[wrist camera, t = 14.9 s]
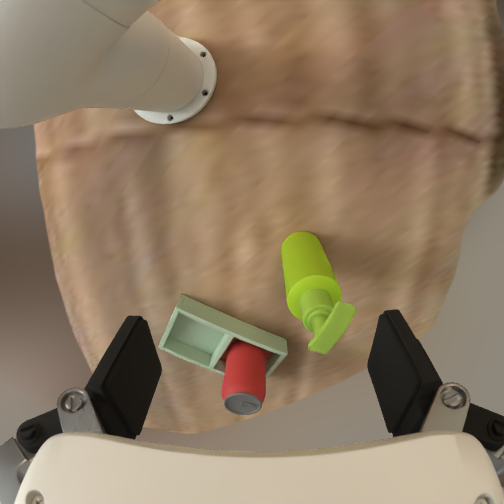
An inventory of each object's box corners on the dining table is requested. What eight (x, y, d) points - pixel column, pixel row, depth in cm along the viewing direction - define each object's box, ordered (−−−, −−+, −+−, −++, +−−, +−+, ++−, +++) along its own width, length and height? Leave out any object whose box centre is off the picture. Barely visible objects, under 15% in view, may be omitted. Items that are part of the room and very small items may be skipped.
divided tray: (163, 334, 50) (157, 348, 46) (181, 293, 46) (175, 306, 43) (259, 373, 53) (258, 387, 49) (286, 339, 49) (287, 354, 46)
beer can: (259, 367, 51) (258, 420, 40) (224, 359, 50) (216, 412, 39) (270, 342, 48) (271, 396, 37) (232, 333, 48) (224, 387, 37)
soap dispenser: (331, 234, 41) (377, 318, 23) (309, 273, 44) (335, 371, 25) (294, 218, 40) (319, 296, 22) (274, 259, 43) (280, 356, 25)
